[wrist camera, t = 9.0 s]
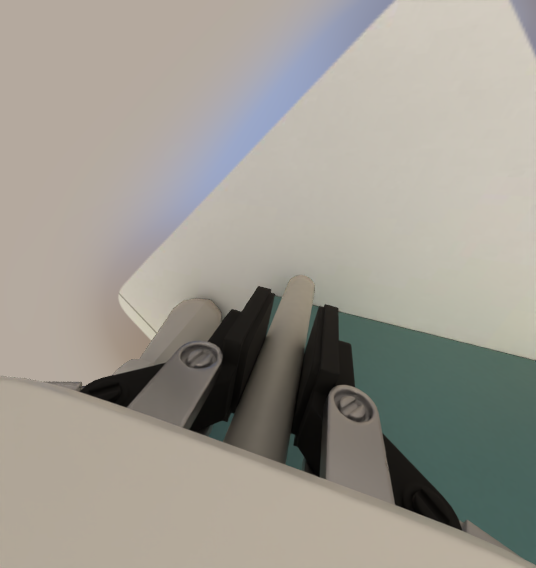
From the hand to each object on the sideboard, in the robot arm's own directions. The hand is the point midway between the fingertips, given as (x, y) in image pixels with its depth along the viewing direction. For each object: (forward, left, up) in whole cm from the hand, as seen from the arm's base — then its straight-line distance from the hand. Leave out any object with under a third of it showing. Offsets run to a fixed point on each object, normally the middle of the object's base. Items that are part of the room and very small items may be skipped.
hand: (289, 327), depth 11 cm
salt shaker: (+6, -14, -15) cm, 22 cm away
